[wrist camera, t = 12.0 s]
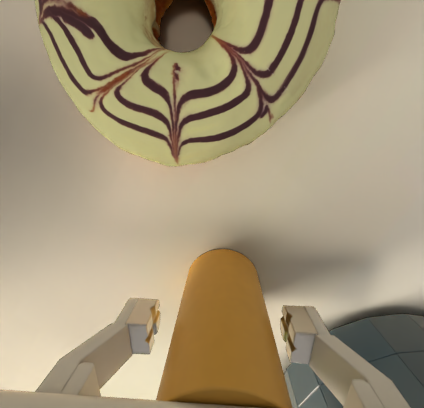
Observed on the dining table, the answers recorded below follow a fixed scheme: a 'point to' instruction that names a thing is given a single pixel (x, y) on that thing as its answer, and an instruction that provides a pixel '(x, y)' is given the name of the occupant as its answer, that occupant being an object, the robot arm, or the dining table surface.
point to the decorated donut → (185, 71)
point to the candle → (223, 339)
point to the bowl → (370, 360)
